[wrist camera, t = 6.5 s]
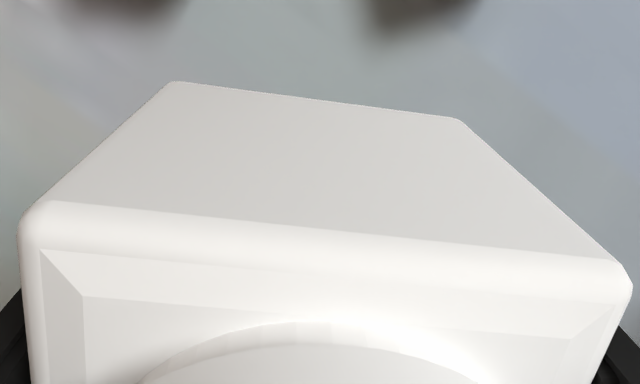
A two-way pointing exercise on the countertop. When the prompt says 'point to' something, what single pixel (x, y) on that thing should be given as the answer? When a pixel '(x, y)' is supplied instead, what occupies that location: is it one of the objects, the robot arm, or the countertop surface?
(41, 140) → the countertop surface
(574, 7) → the countertop surface
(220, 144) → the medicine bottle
